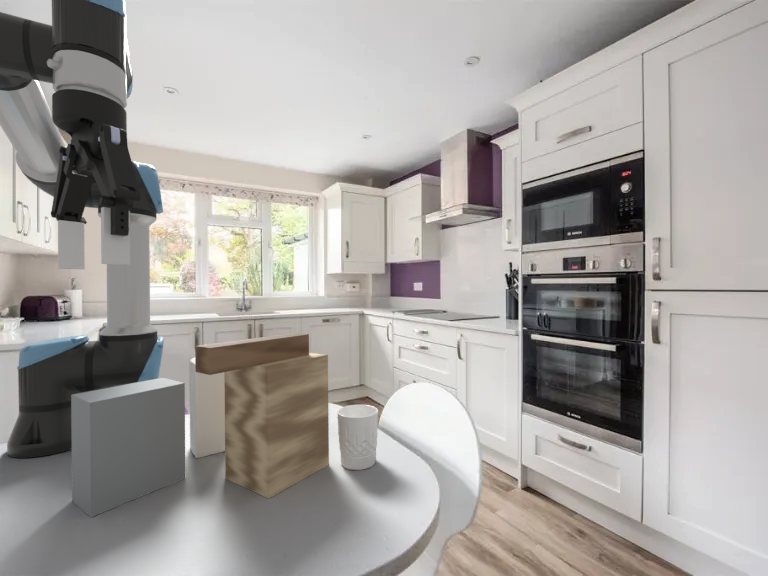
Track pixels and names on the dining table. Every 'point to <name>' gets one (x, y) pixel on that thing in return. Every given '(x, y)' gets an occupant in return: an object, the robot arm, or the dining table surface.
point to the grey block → (126, 442)
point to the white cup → (358, 436)
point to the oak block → (276, 423)
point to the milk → (206, 412)
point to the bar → (249, 352)
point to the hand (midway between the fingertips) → (92, 267)
